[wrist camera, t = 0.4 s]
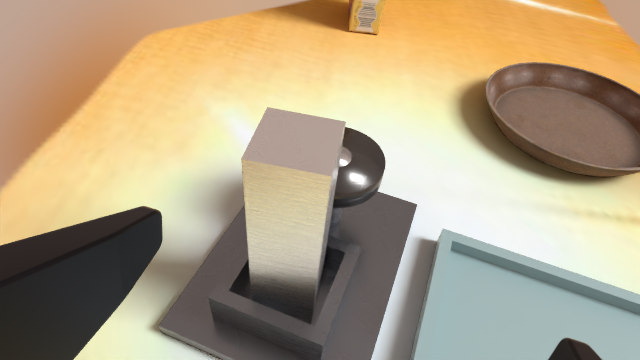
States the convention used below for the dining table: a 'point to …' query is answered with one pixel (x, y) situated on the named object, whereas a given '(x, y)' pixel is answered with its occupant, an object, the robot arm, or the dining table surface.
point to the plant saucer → (568, 117)
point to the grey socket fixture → (335, 287)
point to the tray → (517, 307)
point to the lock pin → (290, 207)
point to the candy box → (365, 15)
